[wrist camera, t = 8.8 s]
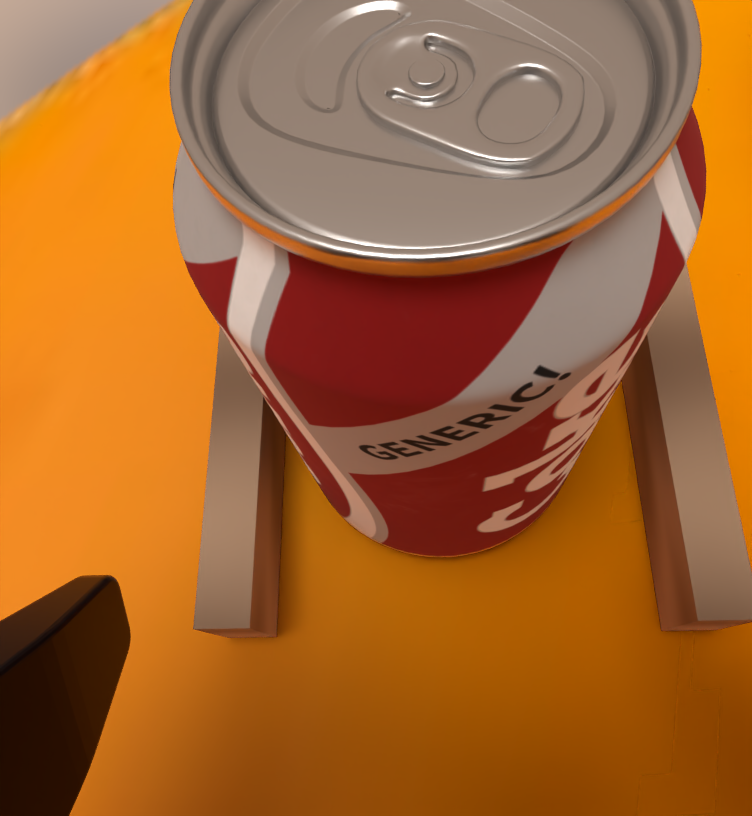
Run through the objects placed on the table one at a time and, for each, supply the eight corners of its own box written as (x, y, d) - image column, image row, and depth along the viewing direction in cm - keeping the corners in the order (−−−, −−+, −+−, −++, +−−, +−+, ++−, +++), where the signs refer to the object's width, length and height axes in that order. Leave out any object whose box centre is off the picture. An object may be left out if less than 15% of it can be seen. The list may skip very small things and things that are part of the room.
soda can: (391, 285, 20) (324, -211, 9) (612, 385, 18) (863, -82, 7) (263, 482, 18) (-21, 157, 7) (496, 615, 16) (596, 457, 5)
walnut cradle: (715, 630, 16) (761, 619, 14) (227, 637, 17) (193, 629, 14) (642, 237, 20) (668, 178, 18) (254, 261, 21) (230, 207, 19)
